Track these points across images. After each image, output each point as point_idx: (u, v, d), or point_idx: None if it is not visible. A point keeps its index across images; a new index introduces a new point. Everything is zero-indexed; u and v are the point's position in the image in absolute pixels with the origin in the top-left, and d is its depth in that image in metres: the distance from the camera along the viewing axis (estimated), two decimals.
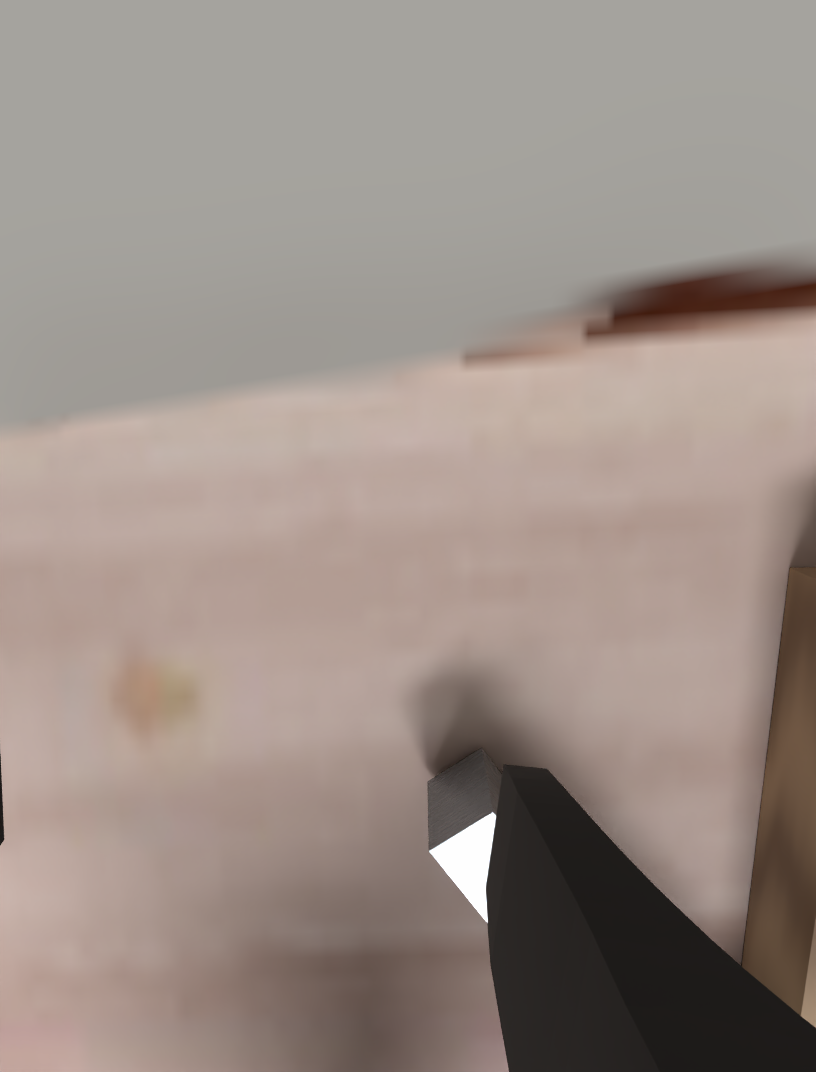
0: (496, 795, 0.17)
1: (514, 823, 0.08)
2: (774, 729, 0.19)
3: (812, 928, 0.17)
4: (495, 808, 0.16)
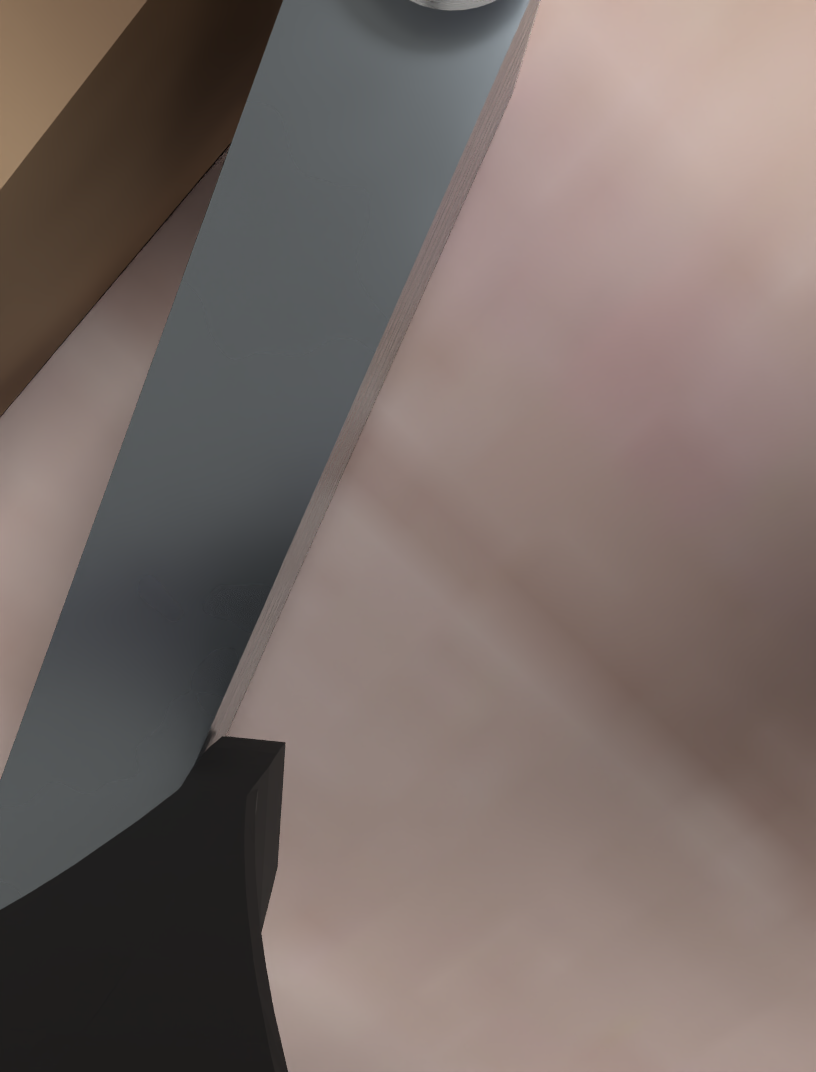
0: None
1: None
2: None
3: None
4: None
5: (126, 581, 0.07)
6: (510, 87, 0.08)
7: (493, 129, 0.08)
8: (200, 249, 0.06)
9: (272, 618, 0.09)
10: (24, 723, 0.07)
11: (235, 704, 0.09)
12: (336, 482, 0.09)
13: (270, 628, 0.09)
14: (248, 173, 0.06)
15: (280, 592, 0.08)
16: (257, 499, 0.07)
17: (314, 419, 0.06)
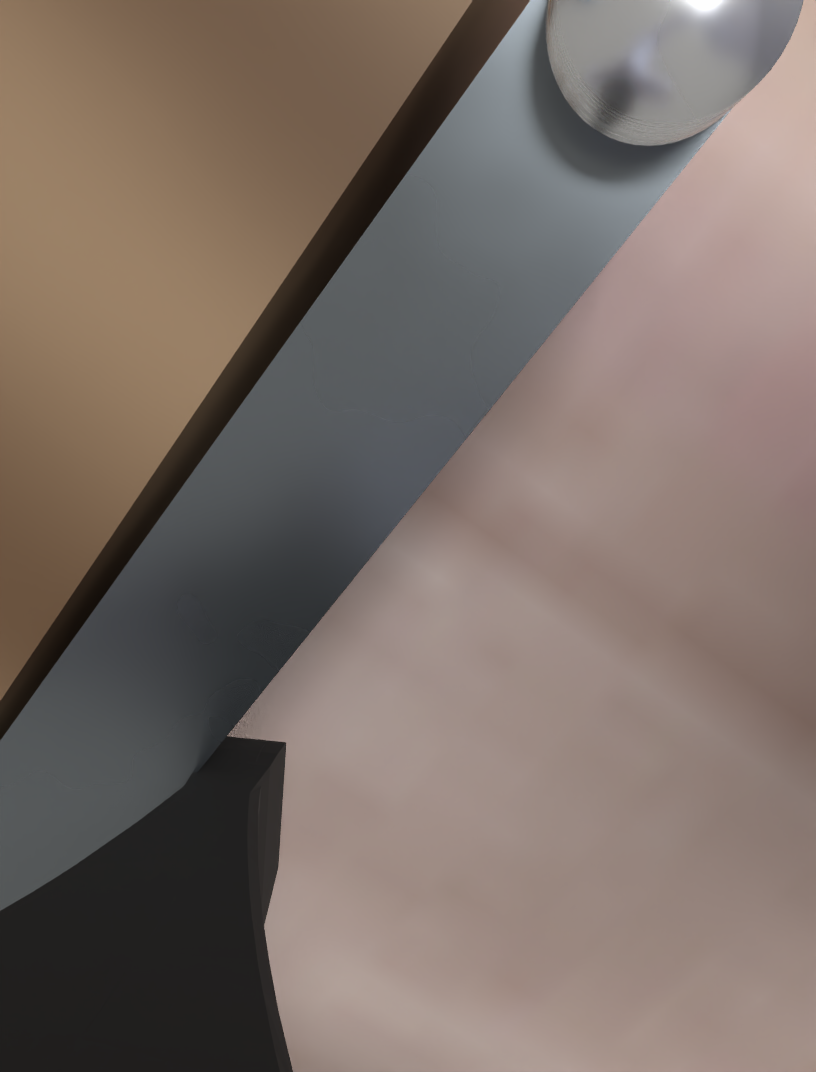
0: None
1: None
2: None
3: (65, 606, 0.07)
4: None
5: (166, 595, 0.07)
6: None
7: None
8: (325, 300, 0.06)
9: None
10: (28, 708, 0.07)
11: None
12: None
13: None
14: (390, 240, 0.06)
15: None
16: (318, 547, 0.07)
17: (393, 484, 0.06)
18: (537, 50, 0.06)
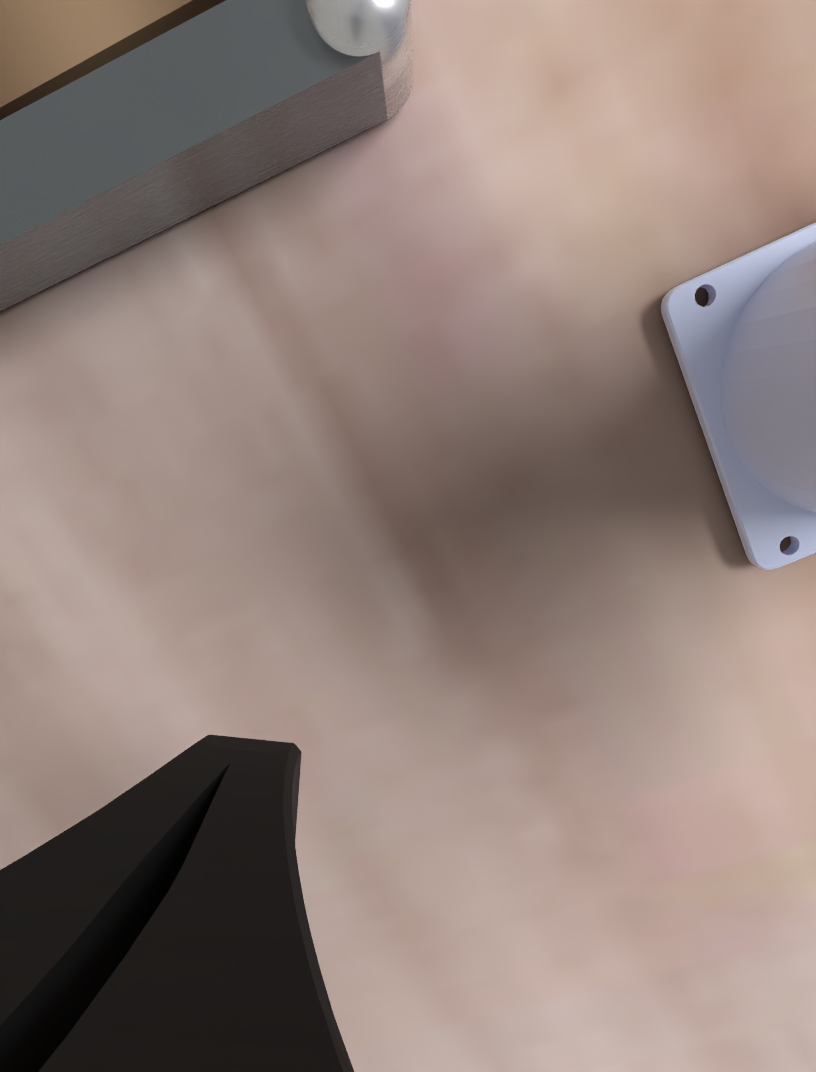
0: None
1: None
2: None
3: None
4: None
5: (25, 140, 0.13)
6: (374, 109, 0.14)
7: (361, 122, 0.15)
8: (165, 36, 0.12)
9: (87, 246, 0.15)
10: None
11: (35, 276, 0.15)
12: (174, 216, 0.15)
13: (84, 257, 0.15)
14: (207, 26, 0.12)
15: (98, 228, 0.14)
16: (111, 157, 0.13)
17: (160, 145, 0.13)
18: None
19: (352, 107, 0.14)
